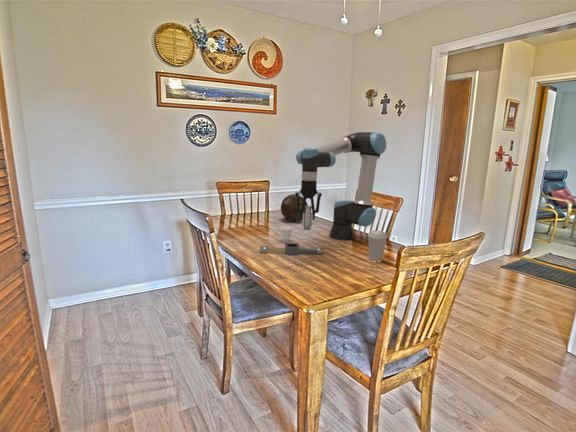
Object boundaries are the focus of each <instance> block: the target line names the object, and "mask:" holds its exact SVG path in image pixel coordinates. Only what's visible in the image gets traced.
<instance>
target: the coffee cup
mask: <svg viewBox="0 0 576 432" xmlns="http://www.w3.org/2000/svg"><path fill="white" fill-rule="evenodd" d="M367 237H368V261H369V260H371V261H376V262H378V261H382V260H383V256H384V252H385V251H384V250H385V247H386V241H387V239H388V234H387V232H385V231H382V230H378V229H377V230H369V232H368V234H367Z"/></svg>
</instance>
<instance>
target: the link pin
mask: <svg viewBox="0 0 576 432" xmlns="http://www.w3.org/2000/svg"><path fill="white" fill-rule="evenodd" d="M311 213H312V206H311V205H308V206H304V226H302V227H303V230H304V231H311V229H312V228H311V227H312V226H311Z"/></svg>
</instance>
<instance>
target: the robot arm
mask: <svg viewBox="0 0 576 432" xmlns="http://www.w3.org/2000/svg"><path fill="white" fill-rule="evenodd" d="M386 149H387V140H386V137H385V135H384V134H383V133H381V132H376V131H370V132H369V131H367V132H365V131H361V132H360V131H358V132H353V133H351V134H348V135H345V136H342V137H340V139H338V140H335V141H333V142H332V141H331V142H330V143H327V144H323V145H320V146H317V147H313V148H312V147H304V148H303V150H299V151H298V152H297V153H296V155H295V160H296V163H297V164H299V165H301V184H300V190H299V191H296V192H295V193H294V194H296V197H297V212H299V213H300V219H301V226H302V227H304V213H303V210H304V206H305V202H307V200H308V199H310V206H312V208H311V227H313V221H315V218H316V217H315V216H316V214H317V213H319V212H320V204H321V198H322V196H323V194H322V193H321V192H319V191H318V190H317V185H318V182H317V179H318V168H331V167H333V166H334V165H335V164H336V159H337V157H336V156H338V155H340V154H343V153H344V154H348V153H359V157H360V158H361V163H360V170H359V175H358V176H359V177H358V183H357V190H356V198H355V199H354V200H350V199H349V200H337V201H335V202H334V207H333V220H332V226H331V229H330V231H329V238H332V239H334V240H341V241H349V240H353V239H354V235H355V234H354V233H355V232H354V230H353V225H358V226H359V227H364V228H366V227H369V226H371V225H372V224H373V223H374V221H375V219H376V216H377V212H376V209H375V208H374V204H373V202H372V196H373V189H374V182H375V175H376V169H377V162H378V160H379V159H380V158H381V155H382V154H384V153H385V151H386ZM299 196H302V197H303V201H302V206H301V210H299ZM315 196H317V198H316V204H315V202H314V197H315ZM315 205H316V206H315Z"/></svg>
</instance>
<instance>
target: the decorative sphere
mask: <svg viewBox="0 0 576 432" xmlns="http://www.w3.org/2000/svg"><path fill="white" fill-rule="evenodd" d="M302 201H303V196H302V195H300V196H299V210H301V206H302ZM305 206H309V205H308V201H306V202H305ZM280 212H281V214H282V216H283V217H284V219H286V220H287V221H289V222H299V221H302V219H300V213H299V212H297V197H296V194H295V193H293V194H289V195H287V196H286V197H285V198H283V200H282V201H281V204H280ZM303 213H304V210H303Z"/></svg>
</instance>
